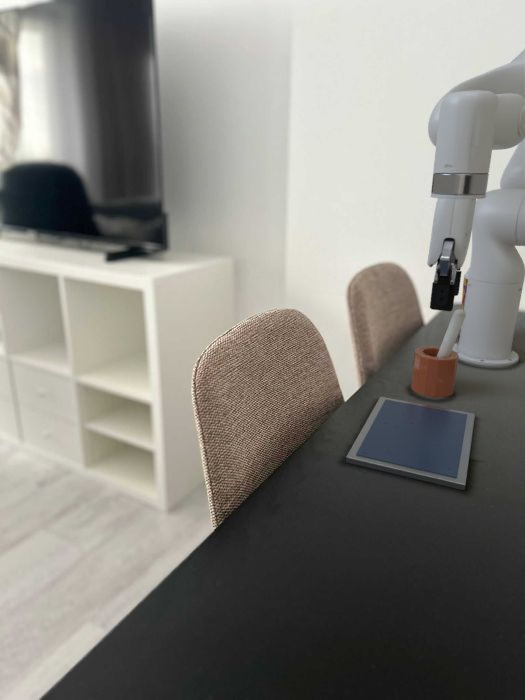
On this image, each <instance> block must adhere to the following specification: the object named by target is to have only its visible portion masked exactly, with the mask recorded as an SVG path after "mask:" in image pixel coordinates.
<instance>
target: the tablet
mask: <svg viewBox="0 0 525 700" xmlns="http://www.w3.org/2000/svg"><path fill="white" fill-rule="evenodd" d="M475 417H476V413H473V412H468V411H463V410H457V409H451V408H445V407H439V406H436V405H435V406H434V405H429V404H424V403H418V402H412V401H406V400H401V399H396V398H390V397H385V396H380V397H379V398H378V400H377V402H376V404H375V405H374V407H373V409H372V411H371V412H370V414H369V416H368V418H367V419H366V421H365V423H364V424H363V427H362V428H361V429H360V432H359V434H358V435H357V437H356V439H355V440H354V442H353V444H352V446H351V448H350V449H349V451H348V453H347V455H346V456H345V463H347V464H352V465H354V466H355V465H356V466H359V467H364V468H368V469H372V470H376V471H380V472H384V473H388V474H393V475H397V476H402V477H406V478H410V479H414V480H419V481H423V482H427V483H430V484H435V485H439V486H443V487H448V488H451V489H452V488H453V489H457V490H460V491H465V490H466V484H467V477H468V469H469V463H470V462H469V461H470V454H471V448H472V447H471V446H472V441H473V440H472V439H473V433H474V426H475Z"/></svg>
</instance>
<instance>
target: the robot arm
mask: <svg viewBox="0 0 525 700" xmlns="http://www.w3.org/2000/svg"><path fill="white" fill-rule="evenodd" d="M427 124H428V125H427V133H428V134H427V135H428V137H429V140H430V142H431V144H432V145H433V146H434V147H435V151H434V152H435V153H434V161H433V172H432V180H431V189H430V198H433V199H436V203H435V208H434V214H433V220H432V228H431V235H430V243H429V249H428V256H427V261H426V262H427V266H428V267H429V268H432V267H434V265H436V266H435V272H434V277H433V282H432V283H431V284H432V285H431V293H430V302H429V309H431V310H433V311H441V312H452V311H453V310H454V303H455V297H457V296H458V295H459V293H460V287H461V278H462V269H461V268H462V267H463V266H464V263H465V261H466V257H467V254H468V250H469V247H470V241H471V254H470V261H469V262H470V264H469V268H470V270H469V277H468V283H467V290H466V297H465V304H464V311H465V313H466V316H465V319H464V321H463V324H462V326H461V331H459V339H458V342H455V344H454V346H453V349H452V350H453V351H455V352H457V353H458V355H459V358H458V360H461V361H464V362H467V363H471V364H475V365H481V366H491V367H505V366H511V365H515V364H517V363H519V360H520V359H519V358H520V356H519V354H518V353H517V352H516V351H514V350H513V349H512V347H513V342H514V337H515V331H516V327H517V320H518V316H519V310H520V303H521V299H522V294H523V289H524V288H523V287H524V283H525V263H524V260H523V258H522V256H521V255H520V253H519V251H518V250H517V249H518V248H517V247H525V48H524V49H523V50H522V51H520V53H519V54H517V55H516V56H515V58H513V59H512V60H511V61H510V62H508V63H507V64H504V65H501V66H498V67H495V68H493V69H491V70H488V71H486V72H483V73H481V74H479V75H476V76H474V77H471V78H469V79H467V80H463V81H462V82H460V83H459V84H457V85H455V86H454V87H452V88H450V90H449V91H447V92H446V93H445V94H444V95H443V96H442V97H441V98H440V99H439V100H438V101H437V102H436V104H435V105H434V107H433V109H432V111H431V113H430V116H429V118H428V123H427ZM514 147H516V148H515V149H514V151H513V153H512V155H511V156H510V158H509V160H508V162H507V164H506V166H505V168H504V170H503V172H502V175H501V178H500V183H499V187H500V188H497V189H491V190H488V184H489V175H490V174H489V173H490V168H491V161H492V155H493V154H492V153H493V151H499V150H502V151H503V150H507V149H508V150H509V149H512V148H514ZM487 190H488V191H487Z"/></svg>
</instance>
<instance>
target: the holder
mask: <svg viewBox="0 0 525 700" xmlns="http://www.w3.org/2000/svg"><path fill="white" fill-rule="evenodd" d="M440 347H441V346H436V345H424V346H419V347H417V348H416V349H415V350H414V355H413V364H412V365H413V366H412V373H411V381H410V383H411V384H410V388H411V390H412V391H413V392H415V393H416V394H418V395H421V396H425V397H430V398H446V397H450V396H452V395H453V394H454V392H455V384H456V377H457V373H458V372H457V371H458V364H459V359H458V358H459V355H458V353H457V352H455V351H453V350H452V351H451V354H450V356H449V357H437V355H438V352H439V349H440Z"/></svg>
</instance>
